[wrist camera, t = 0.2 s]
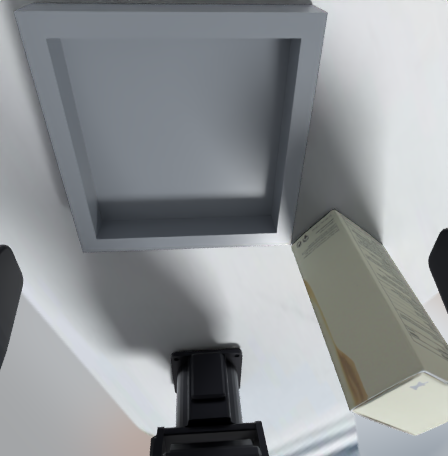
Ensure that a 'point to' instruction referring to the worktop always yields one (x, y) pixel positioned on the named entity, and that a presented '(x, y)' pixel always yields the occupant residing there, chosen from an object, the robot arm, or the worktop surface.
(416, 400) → the skincare box
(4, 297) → the robot arm
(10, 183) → the worktop surface
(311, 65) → the tray
